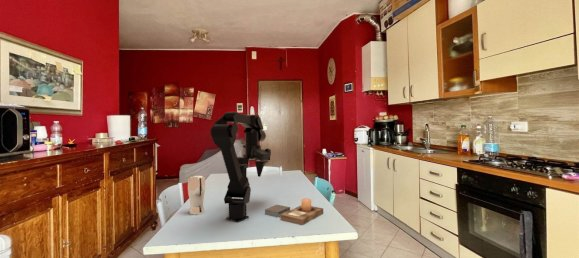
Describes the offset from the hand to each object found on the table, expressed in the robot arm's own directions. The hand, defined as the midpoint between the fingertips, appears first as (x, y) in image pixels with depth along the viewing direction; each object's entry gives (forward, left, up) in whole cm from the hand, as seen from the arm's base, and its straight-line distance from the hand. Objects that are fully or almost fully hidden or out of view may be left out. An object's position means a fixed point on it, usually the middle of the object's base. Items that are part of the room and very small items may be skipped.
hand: (252, 178), depth 123 cm
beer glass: (-18, +15, -13) cm, 27 cm away
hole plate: (+2, -25, -13) cm, 28 cm away
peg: (+5, -25, -13) cm, 29 cm away
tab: (0, -14, -13) cm, 19 cm away
